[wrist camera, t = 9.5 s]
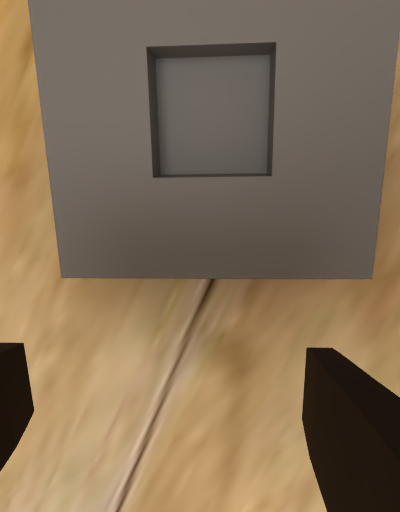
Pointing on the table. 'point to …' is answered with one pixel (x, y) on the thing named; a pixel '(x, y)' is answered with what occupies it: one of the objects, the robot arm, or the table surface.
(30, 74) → the table surface
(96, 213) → the board
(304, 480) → the table surface
